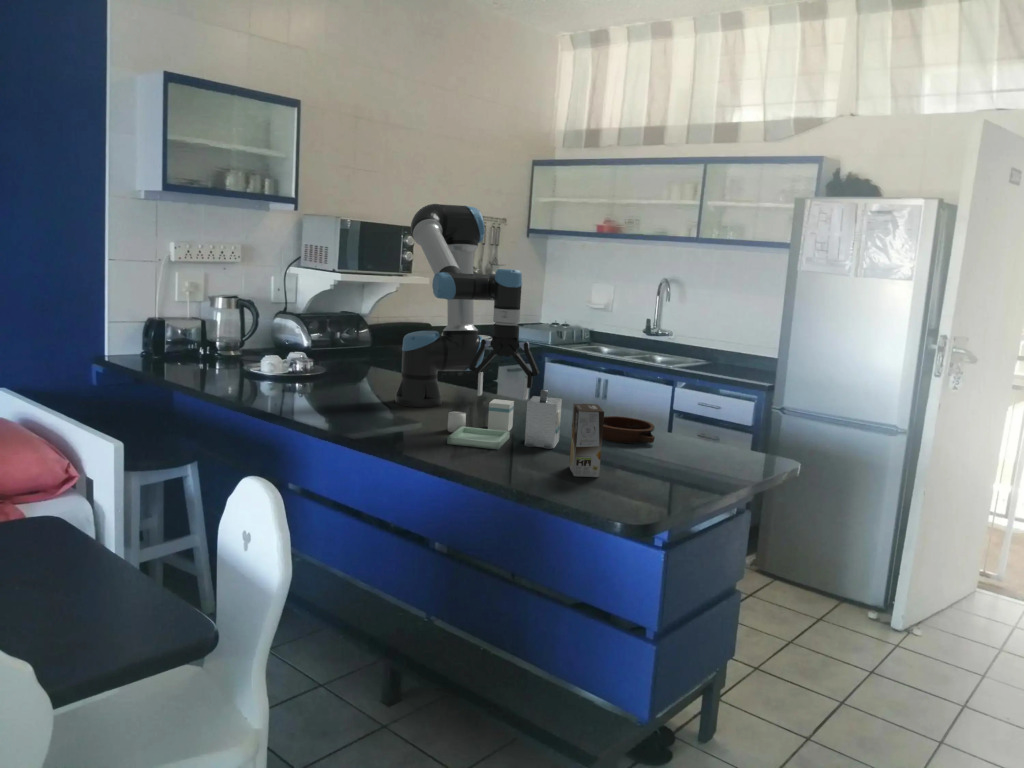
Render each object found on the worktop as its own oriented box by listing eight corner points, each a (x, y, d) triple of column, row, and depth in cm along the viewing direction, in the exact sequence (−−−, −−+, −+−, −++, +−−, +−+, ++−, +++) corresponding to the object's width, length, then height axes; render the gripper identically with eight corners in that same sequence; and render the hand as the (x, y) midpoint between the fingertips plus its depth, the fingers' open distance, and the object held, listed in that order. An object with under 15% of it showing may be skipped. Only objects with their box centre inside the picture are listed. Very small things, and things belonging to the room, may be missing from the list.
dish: (631, 451, 225) (633, 433, 224) (572, 434, 240) (574, 417, 240) (670, 443, 236) (672, 426, 235) (612, 427, 252) (613, 411, 251)
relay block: (487, 429, 239) (489, 402, 238) (492, 425, 245) (493, 399, 243) (508, 432, 238) (509, 404, 236) (512, 427, 244) (514, 401, 242)
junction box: (523, 446, 222) (527, 391, 220) (531, 437, 233) (534, 384, 230) (554, 449, 221) (558, 394, 218) (560, 440, 231) (564, 387, 229)
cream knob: (445, 431, 234) (446, 414, 233) (450, 427, 239) (451, 411, 238) (462, 433, 233) (463, 416, 232) (467, 429, 238) (468, 412, 237)
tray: (447, 443, 220) (447, 437, 220) (461, 432, 233) (461, 426, 233) (498, 449, 217) (498, 442, 217) (509, 437, 231) (510, 431, 230)
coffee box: (600, 477, 197) (605, 411, 194) (573, 476, 196) (578, 410, 193) (593, 467, 206) (598, 403, 203) (567, 466, 205) (572, 402, 202)
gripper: (460, 321, 235) (457, 395, 238) (547, 327, 230) (542, 402, 233) (467, 319, 242) (464, 391, 245) (551, 325, 237) (547, 398, 240)
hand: (502, 397), depth 239 cm, fingers open, 13 cm apart
